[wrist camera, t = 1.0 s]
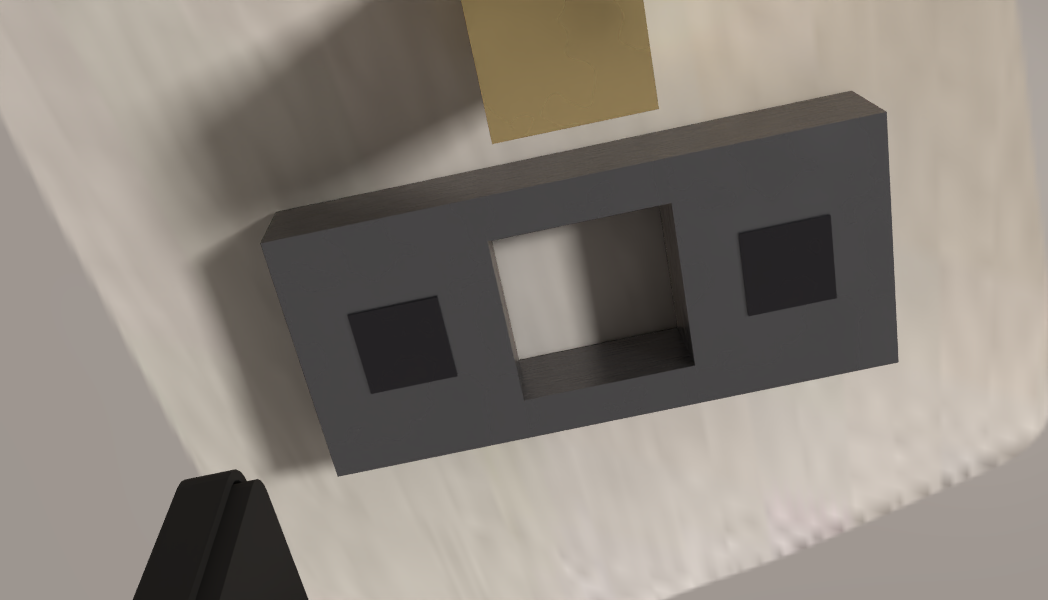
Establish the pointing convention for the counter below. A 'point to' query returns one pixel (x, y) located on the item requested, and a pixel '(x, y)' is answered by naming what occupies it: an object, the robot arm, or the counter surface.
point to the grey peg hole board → (613, 367)
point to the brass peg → (559, 63)
